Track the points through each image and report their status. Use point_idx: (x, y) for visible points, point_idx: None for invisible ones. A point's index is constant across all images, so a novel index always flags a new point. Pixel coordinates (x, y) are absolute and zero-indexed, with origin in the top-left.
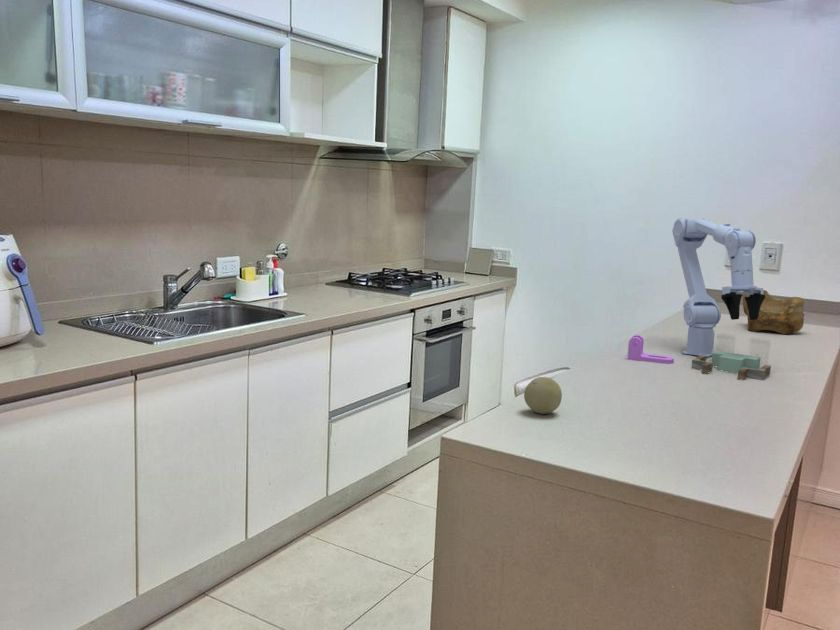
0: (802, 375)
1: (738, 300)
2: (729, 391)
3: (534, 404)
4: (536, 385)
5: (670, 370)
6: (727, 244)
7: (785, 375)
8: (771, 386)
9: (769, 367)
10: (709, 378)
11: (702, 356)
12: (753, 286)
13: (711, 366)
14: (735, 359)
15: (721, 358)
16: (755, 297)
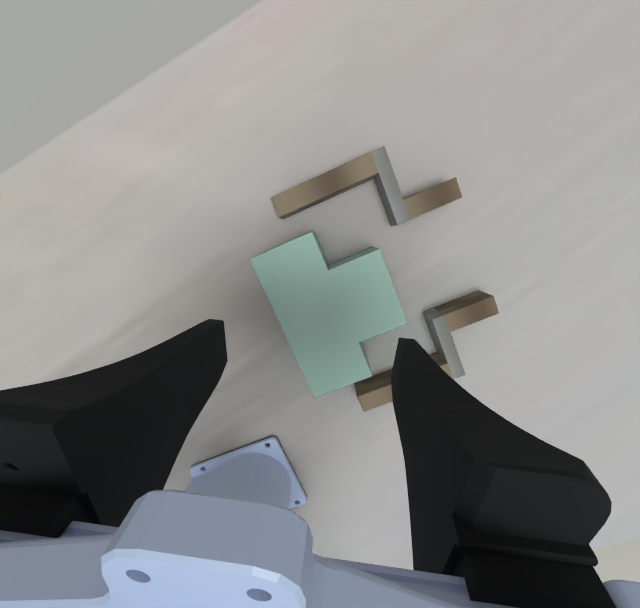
0: (174, 141)
1: (482, 423)
2: (634, 95)
3: None
4: None
5: (541, 368)
6: None
7: (235, 167)
8: (432, 79)
9: (291, 189)
10: (525, 247)
11: (383, 394)
12: (246, 552)
13: (441, 311)
14: (387, 269)
15: (403, 314)
16: (106, 457)
